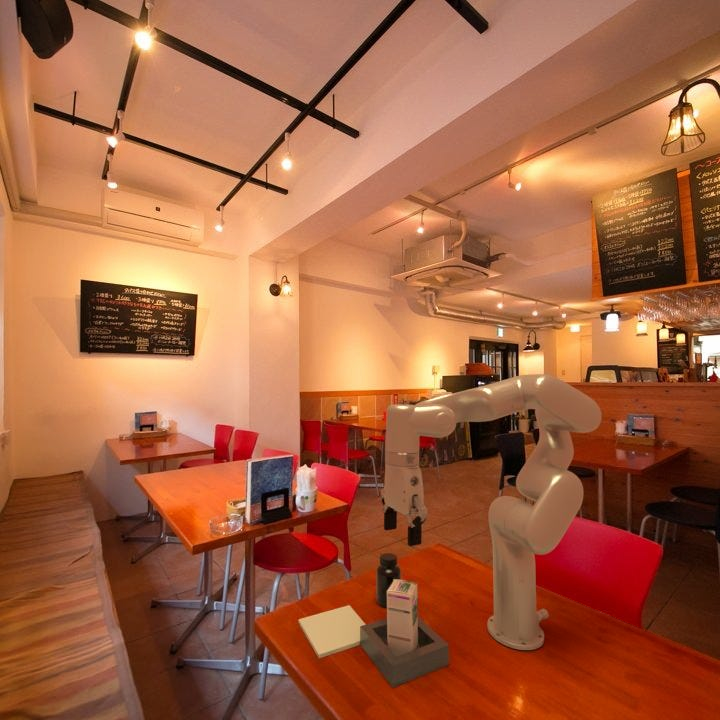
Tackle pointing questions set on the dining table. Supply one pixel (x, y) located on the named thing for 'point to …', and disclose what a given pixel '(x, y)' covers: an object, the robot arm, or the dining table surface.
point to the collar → (409, 663)
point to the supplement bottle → (386, 576)
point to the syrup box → (402, 617)
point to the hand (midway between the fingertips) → (401, 536)
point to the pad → (332, 630)
